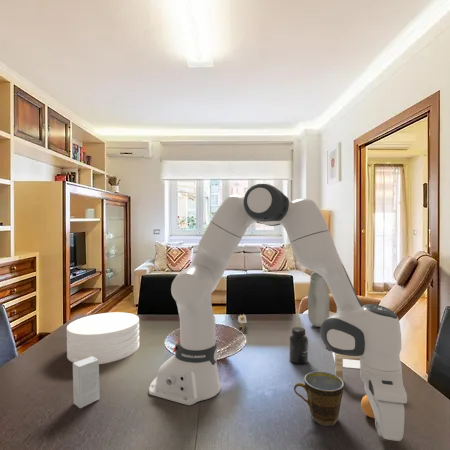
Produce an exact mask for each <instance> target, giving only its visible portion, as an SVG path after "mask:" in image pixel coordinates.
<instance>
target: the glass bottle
mask: <svg viewBox="0 0 450 450" xmlns="http://www.w3.org/2000/svg"><path fill="white" fill-rule="evenodd" d="M309 280H310V281H309V286H308V291H307V314H308V320H309V323H311V325H312V326H314V327H317V328H321V325H322V323H323V322H324V321H325V320H326V319H327V318H329V317H330V290H329V287H328V285H327V283H326V281H325V279H324V278H323V277H322V276H321V275H319V274H318V273H316V272H314V271H312V272H311V274H310V279H309Z"/></svg>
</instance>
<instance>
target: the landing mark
mask: <svg viewBox="0 0 450 450" xmlns="http://www.w3.org/2000/svg"><path fill="white" fill-rule="evenodd" d="M331 353H332V357H333V361H334V362H335V353H334V352H332V351H331ZM345 368H346V369H353V370H356V369H357V370H360V360H349V359H343V369H345Z"/></svg>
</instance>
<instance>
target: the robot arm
mask: <svg viewBox="0 0 450 450" xmlns="http://www.w3.org/2000/svg"><path fill="white" fill-rule="evenodd" d="M253 223H254V224H255V223H256V224H260V225H264V226H271V227H275V226H280V225H281V226H282V227H283V228H284V231H286V234H287V237H288V240H289V242H290V247H291V250H292V252H293V254H294V257H295V259H296V260H297V262H298V264H299V265H301V266H302V267H303V268H305V269H307V270H310V271H312V272H313V271H314V272H316V273H318V274H319V275H321V276H322V277H323V278H324V279H325V281H326V283H327V287H328V290H329V293H330V295H331V296H332V298H333V300H334V304H335V305H336V313H334V314H332V315H329V318H327V319H326V320H325V321H324V322H323V323H322V325H321V327H320V332H319V333H320V338H321V339H322V342H323V344H324V345H326V346H325V348H326V347H327V348H326V349H328V350H329V351H330V352H331V353H332V352H334V353H336V354H340V355H347V356H359V357H360V369H359V376H360V380H361V382H362V383H363V386H364V392H365V395H367V397H368V400H369V402H370V405H371V407H372V410H373V412H374V417H375V418H374V421H375V422H374V425H375V429H376V431H377V434H378V436H379V437H382V438H383V439H385V440H388V441H389V440H390V441H397V442H401V441H402V439H403V438H404V432H405V431H404V430H405V405H404V404H407V402H408V395H407V391H406V389H405V386H404V385H405V384H404V383H403V374H402V373H403V372H402V371H403V370H402V365H403V364H402V361H401V358H400V355H401V352H402V330H401V324H400V319H399V317H398V315H397V314H396V313H395V312H394V311H393V310H392V309H390V308H389V307H387V306H383V305H379V304H374V303H373V304H372V303H367V304H364V305H363V303H362V302H361V300H360V299H359V297H358V294H357V293H356V291H355V287H354V286H353V284H352V282H351V279H350V276H349V274H348V272H347V270H346V268H345V266H344V263H343V261H342V260H341V257H340V255H339V253H338V250H337V247H336V245H335V242H334V240H333V237H332V234H331V232H330V227H328V223H327V222H326V219H325V218H324V215H323V213H322V211H321V210H320V208H319V206H318V205H317V203H316V202H315V201H314V200H312V199H309V198H298V199H295V200H290V199H289V198H288V196H286V195H285V194H284V192H283V191H281V190H280V189H278V188H277V187H276V186H274V185H272V184H269V183H266V182H265V183H263V182H262V183H261V182H260V183H256V184H254V185H252V186H250V187H249V189H247V191H246V192H245V194H244V196H242V195H238V194H231V195H228V196H227V197H226V198H225V199H224V201H222V203H221V204H220V206H219V207H218V208H217V210H216V212H215V213H214V215H213V217H212V218H211V220H210V222H209V224H208V226H207V227H206V229H205V231H204V233H203V235H202V237H201V239H200V240H199V243H198V247H197V250H196V253H195V254H194V258H193V260H192V262H191V264H190V265H189V266H188V267H186V268H184V269H182V270H181V271H180V272H179V273H177V274H176V276H175V278H174V279H173V280H172V282H171V286H170V287H171V288H170V292H171V296H172V298H173V299H174V301H175V303H176V306H177V312H178V316H179V328H180V329H179V330H180V331H179V336H180V337H179V338H180V339H179V340H178V341H177V343H176V344H175V346H174V348H173V349H172V353H173V355H171V357H169V358H168V359H167V360H165V361H164V362H163V363H162V364H161V365H160V367H159V369H158V371H157V374H156V377H155V378H154V379H153V380H152V381H151V383H150V385H149V386H148V395H150V396H155V397H158V398H162V399H165V400H169V401H172V402H174V403H179V404H183V405H186V406H193V405H194V404H196V403H197V402H200V401H204V400H208V399H212V398H213V397H215V396H217V394H219V393H220V391H221V390H222V385H221V381H220V378H219V377H220V376H219V373H218V372H219V371H218V365H217V360H218V346H217V345H218V343H217V341H216V317H215V315H214V311H213V305H212V293H213V292H214V291H216V289H217V287H218V284H219V283H220V281H221V279H222V277H223V276H224V274H225V271H226V269H227V267H228V265H229V262H230V261H231V259H232V257H233V255H234V253H235V251H236V250H237V247H239V244H240V242H241V241H242V238H243V237H244V235H245V233H246V232H247V230H248V228H249V227H250V226H251V225H252V224H253ZM174 353H175V354H174Z"/></svg>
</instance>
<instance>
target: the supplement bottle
mask: <svg viewBox="0 0 450 450" xmlns="http://www.w3.org/2000/svg"><path fill="white" fill-rule="evenodd" d="M291 328H292V329H291V335H290V337H289V349H288V350H289V351H288V352H289V361H290V362H291V363H292V364H295V365H305V364H307V363H308V362H309V339H308V337H307V336H306V328H304V327H299V326H295V327H291Z"/></svg>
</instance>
